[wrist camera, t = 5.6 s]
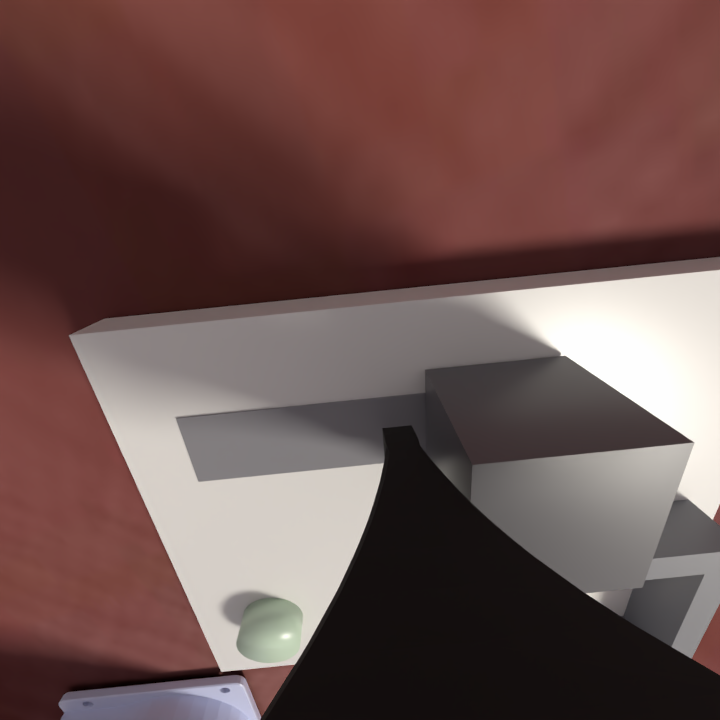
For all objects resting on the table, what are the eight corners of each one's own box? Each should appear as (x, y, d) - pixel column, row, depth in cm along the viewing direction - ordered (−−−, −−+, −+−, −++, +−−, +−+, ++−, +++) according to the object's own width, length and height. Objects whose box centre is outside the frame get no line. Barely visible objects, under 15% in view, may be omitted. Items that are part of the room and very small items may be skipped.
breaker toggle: (427, 478, 12) (465, 605, 8) (425, 369, 10) (472, 465, 6) (548, 466, 12) (642, 587, 8) (565, 355, 10) (694, 442, 6)
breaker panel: (231, 634, 17) (205, 733, 14) (104, 318, 11) (0, 367, 7) (640, 592, 17) (709, 682, 14) (763, 252, 11) (943, 272, 7)
